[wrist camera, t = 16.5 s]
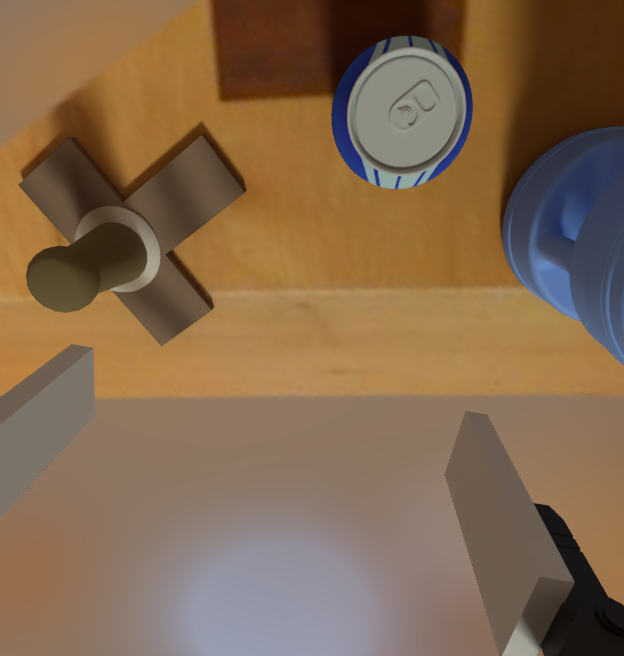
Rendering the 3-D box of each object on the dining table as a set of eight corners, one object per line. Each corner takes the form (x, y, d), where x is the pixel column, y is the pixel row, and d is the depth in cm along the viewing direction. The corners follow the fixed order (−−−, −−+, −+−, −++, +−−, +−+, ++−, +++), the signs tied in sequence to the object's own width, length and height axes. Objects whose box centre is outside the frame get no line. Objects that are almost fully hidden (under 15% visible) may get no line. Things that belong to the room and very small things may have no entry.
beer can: (426, 176, 42) (471, 194, 27) (333, 173, 42) (328, 190, 28) (437, 70, 39) (495, 26, 24) (337, 69, 39) (333, 25, 25)
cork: (74, 234, 45) (-5, 261, 35) (128, 212, 44) (63, 234, 33) (105, 291, 47) (39, 333, 37) (158, 271, 46) (105, 309, 35)
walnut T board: (152, 63, 40) (146, 61, 39) (291, 251, 45) (289, 254, 44) (20, 188, 45) (11, 189, 44) (160, 345, 50) (155, 350, 49)
